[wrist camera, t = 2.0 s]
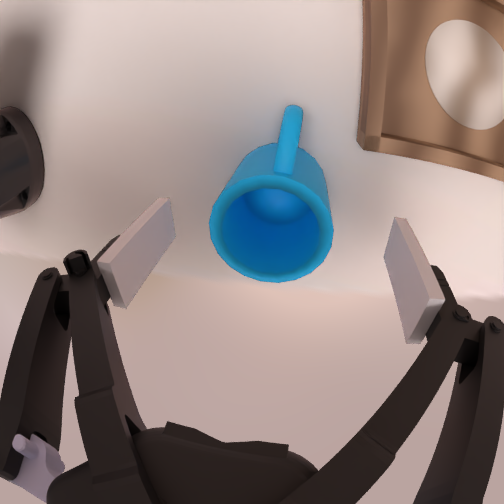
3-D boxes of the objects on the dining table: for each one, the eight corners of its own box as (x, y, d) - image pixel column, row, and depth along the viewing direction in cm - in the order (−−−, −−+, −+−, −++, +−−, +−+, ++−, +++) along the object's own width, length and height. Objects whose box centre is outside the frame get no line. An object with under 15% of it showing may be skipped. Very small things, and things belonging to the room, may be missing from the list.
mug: (313, 234, 27) (314, 292, 21) (230, 217, 28) (206, 269, 21) (345, 111, 20) (366, 130, 14) (246, 92, 21) (219, 101, 14)
